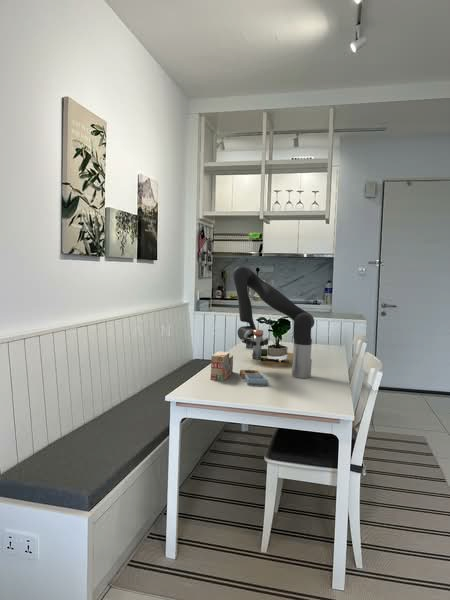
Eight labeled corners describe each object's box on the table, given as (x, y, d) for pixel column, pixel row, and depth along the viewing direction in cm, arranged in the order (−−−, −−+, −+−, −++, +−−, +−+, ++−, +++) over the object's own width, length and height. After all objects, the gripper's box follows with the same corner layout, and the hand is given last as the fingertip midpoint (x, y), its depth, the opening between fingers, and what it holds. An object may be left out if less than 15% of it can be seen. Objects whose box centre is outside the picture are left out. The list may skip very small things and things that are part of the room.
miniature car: (284, 363, 282) (285, 349, 281) (254, 360, 284) (255, 347, 284) (285, 360, 291) (285, 347, 290) (255, 358, 293) (256, 345, 293)
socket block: (256, 375, 245) (257, 370, 245) (260, 380, 236) (260, 374, 236) (239, 375, 244) (240, 369, 244) (242, 379, 235) (242, 373, 235)
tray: (263, 380, 235) (263, 374, 235) (266, 385, 226) (267, 379, 226) (244, 380, 234) (245, 374, 234) (247, 385, 225) (248, 379, 225)
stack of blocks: (221, 371, 253) (222, 348, 252) (232, 372, 251) (233, 349, 250) (210, 380, 232) (211, 355, 231) (222, 381, 230) (224, 356, 229)
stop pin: (260, 358, 232) (262, 329, 231) (262, 360, 227) (264, 331, 226) (251, 357, 231) (252, 329, 230) (252, 360, 227) (254, 330, 225)
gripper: (239, 329, 242) (244, 335, 225) (266, 331, 243) (274, 336, 226) (238, 344, 242) (243, 351, 225) (265, 345, 244) (272, 352, 227)
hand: (258, 343), depth 226 cm, fingers closed on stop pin, 4 cm apart
